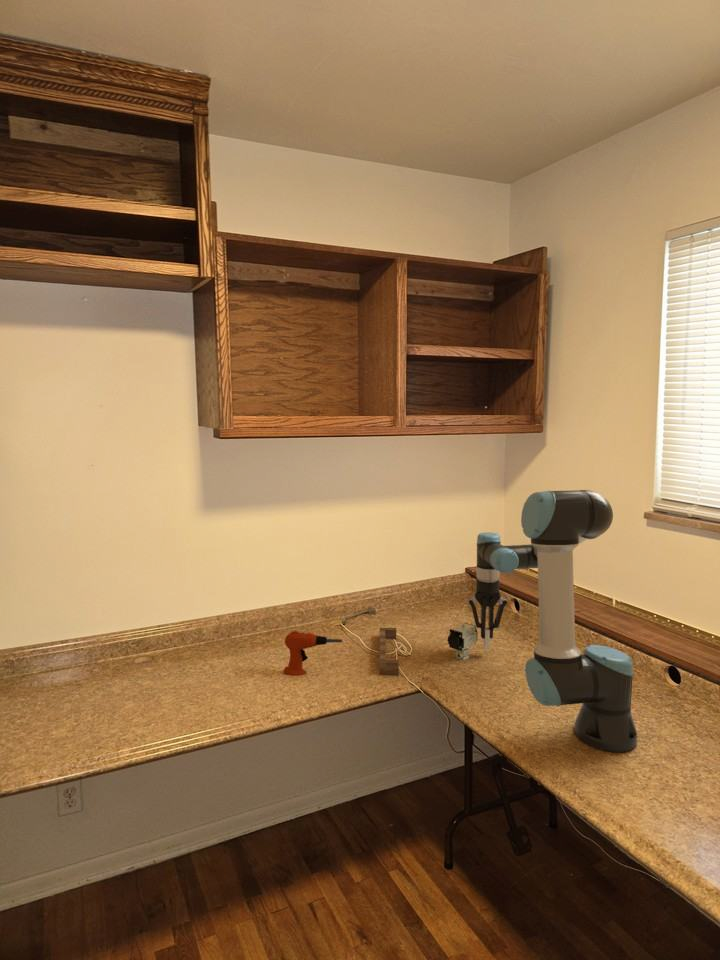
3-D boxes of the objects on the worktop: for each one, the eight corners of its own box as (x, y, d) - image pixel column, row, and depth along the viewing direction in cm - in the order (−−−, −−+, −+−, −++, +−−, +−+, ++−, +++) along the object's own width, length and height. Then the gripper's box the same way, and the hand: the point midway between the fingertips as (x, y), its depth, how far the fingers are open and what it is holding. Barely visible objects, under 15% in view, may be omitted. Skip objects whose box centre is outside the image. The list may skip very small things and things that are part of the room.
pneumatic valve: (446, 662, 199) (447, 627, 197) (466, 651, 207) (466, 618, 206) (460, 666, 195) (461, 631, 194) (479, 655, 203) (480, 622, 202)
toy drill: (342, 681, 185) (341, 634, 183) (282, 679, 186) (281, 633, 185) (343, 674, 190) (343, 628, 188) (285, 673, 191) (284, 628, 189)
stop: (398, 677, 187) (398, 662, 187) (379, 677, 187) (379, 662, 187) (396, 641, 217) (396, 627, 216) (379, 640, 217) (379, 627, 217)
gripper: (505, 576, 201) (503, 643, 204) (466, 575, 202) (465, 642, 205) (510, 582, 194) (508, 652, 197) (469, 582, 195) (468, 651, 197)
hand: (486, 647), depth 201 cm, fingers closed
